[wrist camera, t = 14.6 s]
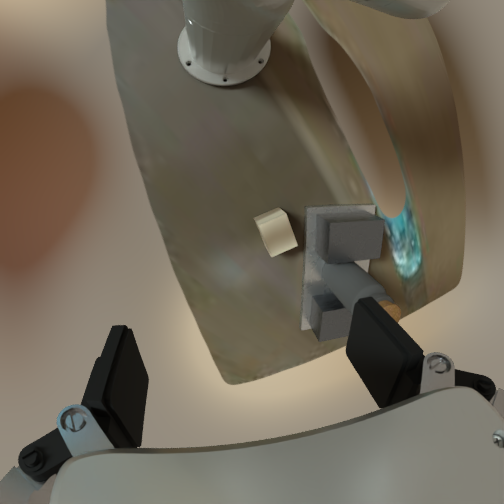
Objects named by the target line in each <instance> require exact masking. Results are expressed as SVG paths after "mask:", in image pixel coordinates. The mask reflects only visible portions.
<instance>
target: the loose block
mask: <svg viewBox="0 0 504 504" xmlns="http://www.w3.org/2000/svg"><path fill="white" fill-rule="evenodd" d="M254 220H255V222H256V225H257V227H258V230H259V232H260V234H261V237H262V239H263V242H264V244H265V247H266V249H267V250H268V252H269V254H270V255H271V257H274V256H276V255H278V254H281V253H283V252H285V251H287V250H290V249H292V248H294V247H296V246H298V245H297V242H296V239H295V236H294V233H293V231H292V228H291V225H290V222H289V220H288V217H287V214H286V213H285V212H284V211H283V210H282V209H280V208H279V207H278V208H276V209H274V210H271V211H269V212H267V213H264V214H262V215H260V216H257V217H255V218H254Z"/></svg>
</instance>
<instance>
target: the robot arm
mask: <svg viewBox="0 0 504 504" xmlns="http://www.w3.org/2000/svg"><path fill="white" fill-rule="evenodd" d="M182 1H183V7H184V14H185V22H186V26H185V27H184V29H183V30H182V32H181V34H180V37H179V40H178V47H177V48H178V56H179V59H180V61H181V63H182V65H183V67H184V68H185V70H186V71H187V72H188V73H189V74H190V75H191V76H193V77H194V78H196V79H197V80H199V81H201V82H204V83H207V84H209V85H215V86H231V85H237V84H240V83H243V82H245V81H247V80H249V79H251V78H253V77H254V76H255V75H257V74H258V73H259V72H260V71H261V70H262V69H263V67H264V66H265V65H266V63H267V61H268V58H269V56H270V51H271V41H270V37H271V36H272V34H273V33H274V31H275V30H276V29H277V27H278V26H279V24H280V23H281V22H282V20H283V19H284V17H285V16H286V15H287V13H288V12H289V10H290V8H291V7H292V5H293V2H294V0H182ZM350 1H353V2H356V3H359V4H361V5H364V6H367V7H370V8H373V9H375V10H378V11H381V12H384V13H386V14H389V15H392V16H395V17H399V18H404V19H421V18H426V17H428V16H431V15H433V14H435V13H436V12H438V11H439V10H441V9H442V8H443V7H444V6H445V5H446V4H447V3H448V2H449V1H450V0H350ZM259 61H260V62H261V64H259V63H258V62H259ZM188 64H191V66H187V65H188ZM224 79H226V80H227V82H224V81H223V80H224ZM346 354H347V357H348V358H349V360H350V362H351V363H352V365H353V366H354V368H355V370H356V371H357V373H358V374H359V376H360V378H361V379H362V381H363V382H364V384H365V385H366V387H367V389H368V390H369V392H370V394H371V395H372V397H373V398H374V400H375V402H376V403H377V405H378V406H379V408H383V409H380V410H377V411H374V412H371V413H368V414H366V415H363V416H360V417H357V418H353V419H350V420H347V421H343V422H340V423H337V424H333V425H330V426H325V427H322V428H318V429H314V430H310V431H305V432H301V433H297V434H292V435H288V436H282V437H277V438H271V439H265V440H259V441H252V442H245V443H237V444H229V445H218V446H206V447H187V448H137V447H140V446H141V442H142V431H143V421H144V414H145V405H146V397H147V390H148V382H149V379H148V374H147V371H146V369H145V366H144V363H143V361H142V358H141V355H140V352H139V350H138V346H137V344H136V340H135V338H134V334H133V331H132V329H128V327H127V326H126V325H116V326H112V328H111V331H110V333H109V336H108V338H107V341H106V343H105V346H104V349H103V351H102V354H101V357H98V358H97V359H96V361H95V364H94V367H93V370H92V372H91V375H90V378H89V381H88V384H87V387H86V390H85V393H84V396H83V399H82V402H81V405H78V404H75V405H70V406H67V407H65V408H64V409H63V410H62V411H61V412H60V413H59V415H58V417H57V426H58V428H56V429H55V430H53V431H51V432H50V433H48V434H46V435H45V436H43V437H41V438H40V439H38V440H36V441H35V442H33V443H31V444H29V445H28V446H26V447H25V448H23V449H22V451H21V452H20V455H19V459H18V460H19V461H18V463H19V466H18V467H17V468H16V467H15V466H14V467H13V468H12V469H11V470H10V471H9V472H8V473H7V474H6V475H5V477H4V478H3V479H2V480H1V481H0V504H504V390H502V389H500V388H499V389H498V390H496V387H495V384H494V382H493V381H492V380H491V379H490V378H488V377H486V376H483V375H479V374H474V373H469V372H465V371H460V370H456V369H454V363H453V361H452V360H451V359H450V358H449V357H448V356H447V355H445V354H442V353H438V352H434V353H430V354H428V355H426V357H425V356H424V355H423V350H422V349H421V348H420V347H419V345H418V344H417V343H416V342H415V341H414V340H413V339H412V338H411V337H410V336H409V335H408V334H407V332H406V331H405V330H403V328H402V327H401V326H400V325H399V324H398V323H397V322H396V321H395V320H394V319H393V318H392V317H391V316H390V315H389V314H388V313H387V311H386V310H385V309H384V308H383V307H382V306H381V305H380V304H379V303H378V302H377V301H376V300H375V299H374V298H373V297H365V298H360V299H358V301H357V302H356V303H355V305H354V310H353V315H352V321H351V326H350V331H349V336H348V341H347V346H346Z"/></svg>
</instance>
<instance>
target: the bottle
mask: <svg viewBox="0 0 504 504" xmlns="http://www.w3.org/2000/svg"><path fill="white" fill-rule="evenodd" d="M322 277H323V280H324V282H325V283H326V284H327V286H328V287H329V288H330V289H331V291H332V292H333V293H334V294H335V295H336V297H337V298H338V299H339V300H340V302H341V303H342V304H343V305H344V306H345V308H346V309H347V310H348V311H349V312H350V314H351V315H353V310H354V305H355V303H356V302H357V301H358V299H360V298H365V297H373V298H374V299H375V300H376V301H377V302H378V303H379V304H380V305H381V306H382V307H383V308H384V309H385V310H386V311H387V313H388V314H389V315H390V316H391V317H392V318H393V319H394V320H395V321H396V322H397V323H398V322H399V319H400V316H401V310H400V308H399V307H398V306H397V305H395V304H394V301H393V299H392V298H391V297H390V296H389V295H387V294H386V291H385V289H384V287H383V286H382V285H381V284H379V283H378V282H377V281H376V280H375V279H374V278H373V277H372V276H371V275H369V274H368V273H367V272H366V271H365V270H364V269H362V268H361V267H360V266H359V265H358V264H357V263H355V262H354V261H353V262H345V263H336V264H328V265H327V264H325V266H324V268H323V272H322Z"/></svg>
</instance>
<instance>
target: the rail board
mask: <svg viewBox="0 0 504 504" xmlns="http://www.w3.org/2000/svg"><path fill="white" fill-rule="evenodd" d="M384 222H385V220H384V219H382V218H380V217H378V216H376V215H375V205H374V204H344V205H318V206H305V224H304V255H303V278H302V296H301V312H300V326H299V327H300V329H301V330H306V329H312V330H313V332H314V334H315V335H316V337H317V339H318V341H319V342H321V341H326V340H331V339H336V338H340V337H345V336H349V331H350V326H351V321H352V315H351V314H350V312H349V311H348V310H347V309H346V308H345V306H344V305H343V304H342V303H341V302H340V300H339V299H338V298H337V297H336V295H335V294H334V293H333V292H332V291H331V289H330V288H329V287H328V286H327V284H326V283H325V282H324V280H323V277H322V272H323V268H324V266H325V264H327V265H328V264H336V263H345V262H353V261H354V262H355V263H357V264H358V265H359V266H360V267H361V268H362V269H364V270H365V271H366V272H367V273H368V268H369V261H370V259H377V258H380V254H381V247H382V239H383V231H384Z"/></svg>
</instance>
